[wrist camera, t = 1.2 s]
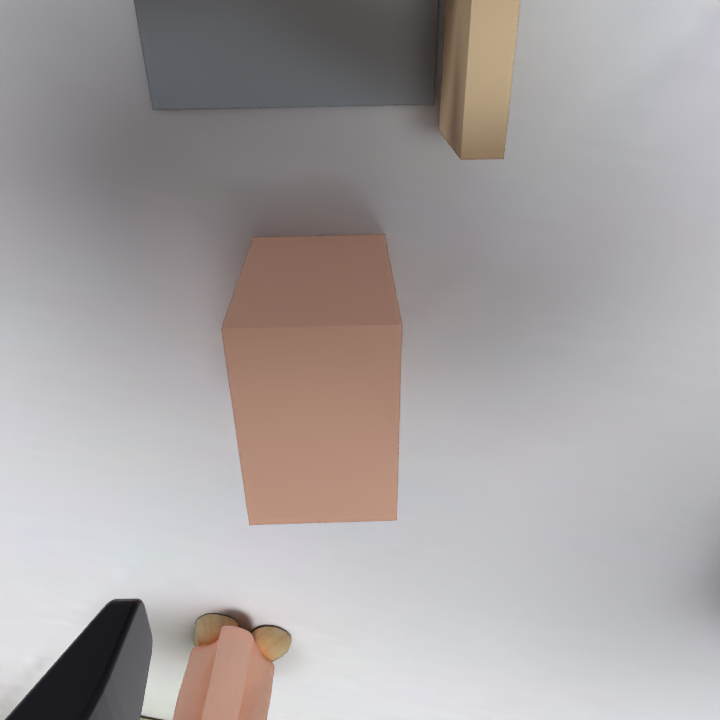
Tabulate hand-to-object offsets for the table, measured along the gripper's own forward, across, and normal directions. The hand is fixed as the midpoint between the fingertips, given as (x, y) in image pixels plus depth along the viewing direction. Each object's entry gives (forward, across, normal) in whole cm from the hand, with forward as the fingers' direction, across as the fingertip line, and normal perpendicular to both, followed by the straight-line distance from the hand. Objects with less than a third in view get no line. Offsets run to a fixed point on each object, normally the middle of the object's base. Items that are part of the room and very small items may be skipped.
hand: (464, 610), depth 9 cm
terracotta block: (+12, +2, +2) cm, 13 cm away
